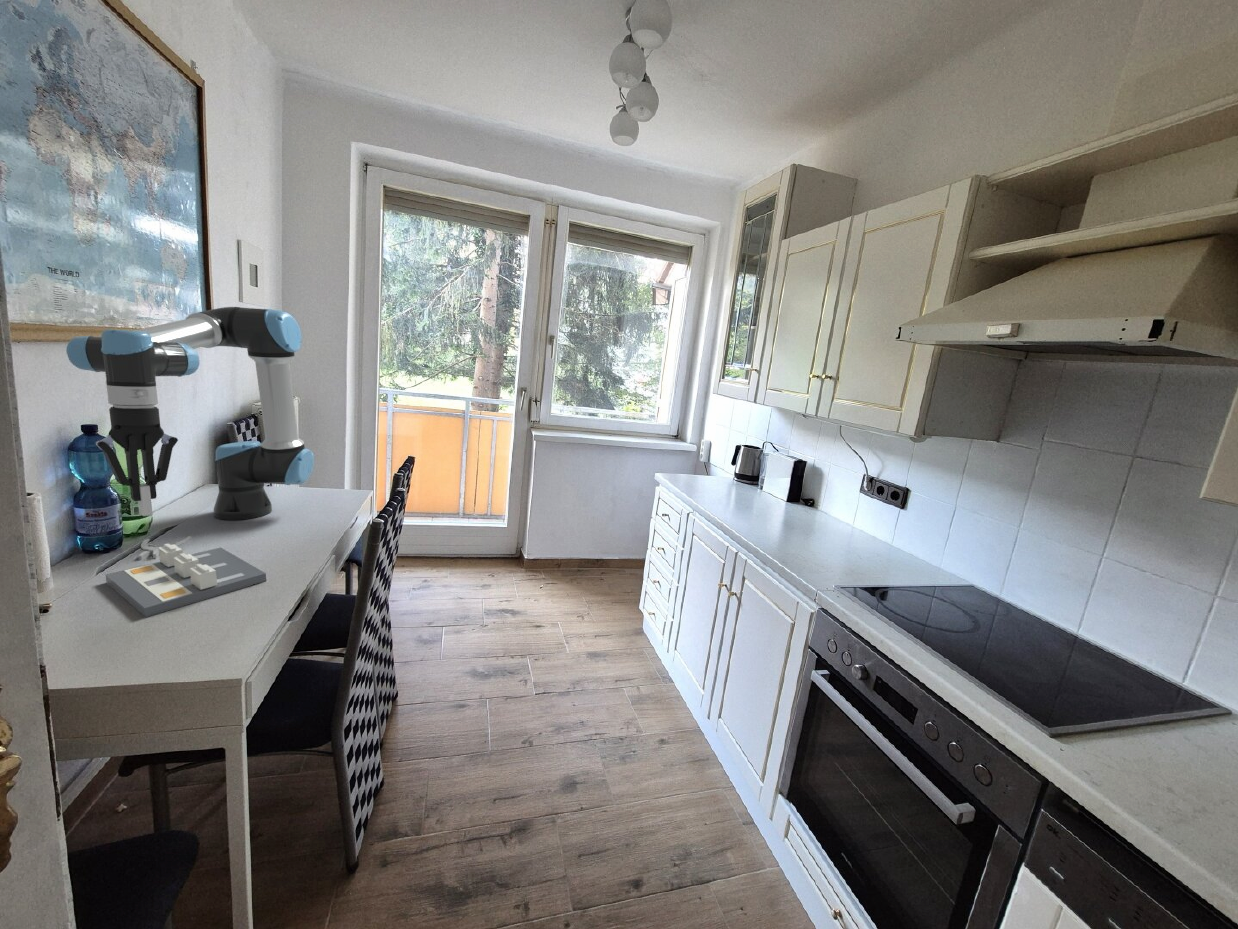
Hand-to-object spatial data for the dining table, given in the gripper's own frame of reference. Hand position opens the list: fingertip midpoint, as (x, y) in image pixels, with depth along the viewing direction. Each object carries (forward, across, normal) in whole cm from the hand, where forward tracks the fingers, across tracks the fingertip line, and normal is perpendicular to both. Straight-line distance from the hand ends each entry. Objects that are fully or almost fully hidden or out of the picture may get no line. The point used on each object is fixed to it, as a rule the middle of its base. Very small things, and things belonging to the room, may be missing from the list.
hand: (145, 514), depth 110 cm
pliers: (+18, +9, +26) cm, 33 cm away
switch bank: (+18, +6, -1) cm, 19 cm away
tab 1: (+15, +6, +8) cm, 18 cm away
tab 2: (+15, +6, -1) cm, 16 cm away
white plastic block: (+15, +6, -10) cm, 19 cm away
